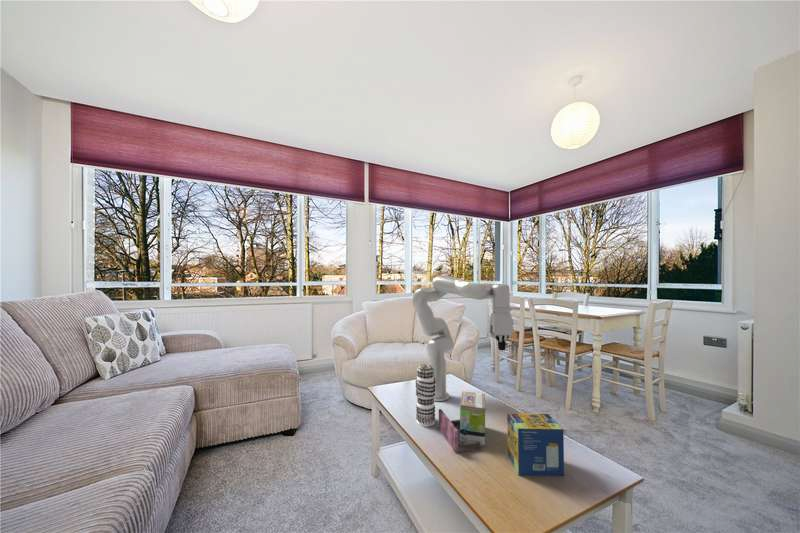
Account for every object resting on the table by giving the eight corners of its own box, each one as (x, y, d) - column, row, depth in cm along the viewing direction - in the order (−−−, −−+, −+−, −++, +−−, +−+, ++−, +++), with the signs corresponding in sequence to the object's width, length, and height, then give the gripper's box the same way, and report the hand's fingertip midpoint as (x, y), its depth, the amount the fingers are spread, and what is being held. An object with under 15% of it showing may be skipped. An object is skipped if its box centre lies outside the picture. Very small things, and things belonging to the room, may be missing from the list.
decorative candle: (440, 423, 129) (439, 366, 130) (423, 429, 124) (423, 370, 125) (428, 414, 137) (427, 361, 138) (411, 419, 132) (411, 364, 133)
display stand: (438, 428, 125) (438, 409, 125) (460, 425, 127) (460, 406, 127) (455, 453, 107) (454, 431, 108) (480, 449, 110) (480, 428, 110)
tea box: (486, 446, 111) (485, 407, 112) (459, 442, 114) (459, 404, 114) (485, 426, 126) (484, 392, 126) (461, 423, 129) (461, 390, 129)
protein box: (507, 456, 106) (506, 413, 106) (549, 456, 105) (549, 413, 106) (517, 476, 95) (517, 428, 96) (565, 476, 95) (564, 428, 95)
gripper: (510, 309, 141) (511, 347, 140) (482, 310, 138) (483, 348, 137) (520, 311, 133) (520, 351, 133) (490, 312, 130) (491, 353, 130)
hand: (501, 349), depth 135 cm, fingers closed
